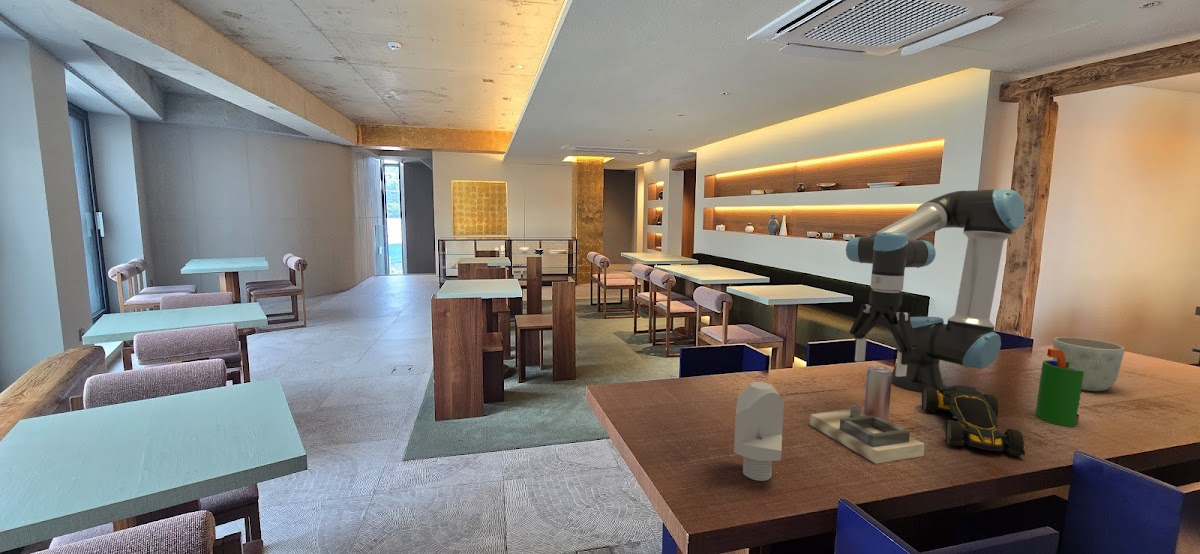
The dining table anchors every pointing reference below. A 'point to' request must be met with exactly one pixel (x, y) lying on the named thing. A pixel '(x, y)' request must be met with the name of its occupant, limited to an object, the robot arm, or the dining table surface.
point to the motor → (1059, 391)
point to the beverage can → (878, 391)
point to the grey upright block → (759, 429)
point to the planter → (1092, 360)
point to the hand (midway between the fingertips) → (879, 368)
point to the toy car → (972, 419)
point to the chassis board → (868, 435)
